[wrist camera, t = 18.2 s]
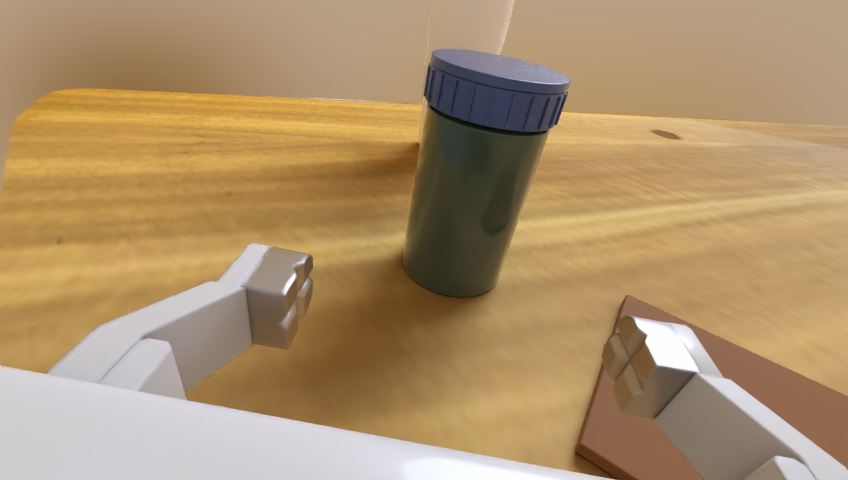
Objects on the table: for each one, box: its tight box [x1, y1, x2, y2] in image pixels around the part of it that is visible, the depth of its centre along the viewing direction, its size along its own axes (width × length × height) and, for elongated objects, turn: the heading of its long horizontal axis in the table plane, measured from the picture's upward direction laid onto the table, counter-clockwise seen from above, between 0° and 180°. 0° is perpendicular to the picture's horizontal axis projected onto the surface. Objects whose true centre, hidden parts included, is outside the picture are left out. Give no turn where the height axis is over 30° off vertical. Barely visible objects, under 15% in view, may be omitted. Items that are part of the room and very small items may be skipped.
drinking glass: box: [418, 0, 515, 144], centre depth 34 cm, size 7×7×15 cm
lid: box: [424, 49, 570, 132], centre depth 17 cm, size 6×6×2 cm
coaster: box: [575, 295, 848, 480], centre depth 16 cm, size 11×11×1 cm
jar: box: [402, 102, 550, 297], centre depth 20 cm, size 6×6×11 cm
